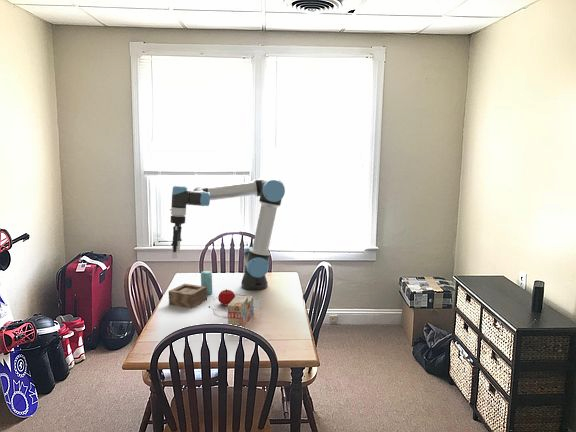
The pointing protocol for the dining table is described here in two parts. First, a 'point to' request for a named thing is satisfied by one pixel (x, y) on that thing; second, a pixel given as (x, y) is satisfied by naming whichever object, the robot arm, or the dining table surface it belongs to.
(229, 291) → the tomato
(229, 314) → the printed cardboard box
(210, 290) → the teal round block
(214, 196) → the robot arm
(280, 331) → the dining table surface
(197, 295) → the wooden box
